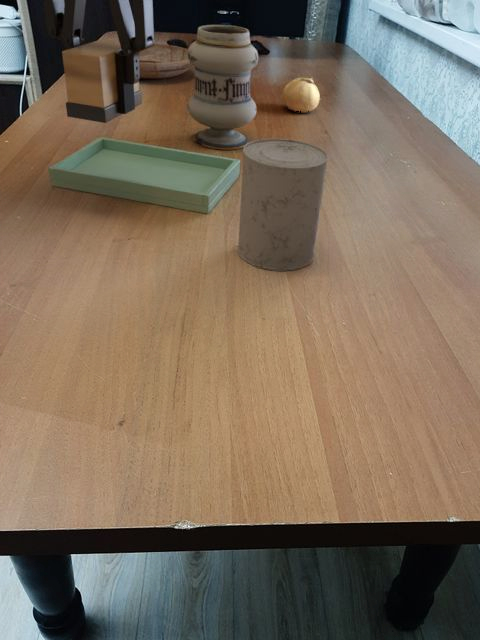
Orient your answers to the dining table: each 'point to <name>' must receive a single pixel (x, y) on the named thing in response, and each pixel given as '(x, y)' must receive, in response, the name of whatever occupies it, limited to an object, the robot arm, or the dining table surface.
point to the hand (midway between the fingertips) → (106, 107)
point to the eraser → (94, 81)
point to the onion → (301, 95)
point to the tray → (147, 174)
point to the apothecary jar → (222, 85)
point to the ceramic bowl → (163, 61)
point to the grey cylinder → (280, 203)
